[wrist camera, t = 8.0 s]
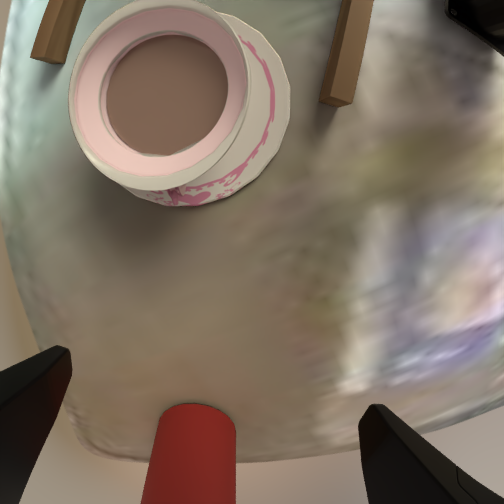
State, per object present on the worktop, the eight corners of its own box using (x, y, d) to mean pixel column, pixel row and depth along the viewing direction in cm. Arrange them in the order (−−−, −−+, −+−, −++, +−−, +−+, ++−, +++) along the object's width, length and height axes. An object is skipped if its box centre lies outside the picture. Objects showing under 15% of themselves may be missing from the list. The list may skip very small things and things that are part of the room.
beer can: (204, 388, 23) (190, 527, 12) (250, 431, 25) (255, 552, 14) (145, 413, 24) (114, 530, 13) (192, 451, 26) (181, 558, 15)
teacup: (82, 42, 15) (30, 16, 9) (273, 0, 14) (286, -52, 9) (108, 220, 19) (60, 253, 13) (301, 189, 18) (328, 212, 13)
